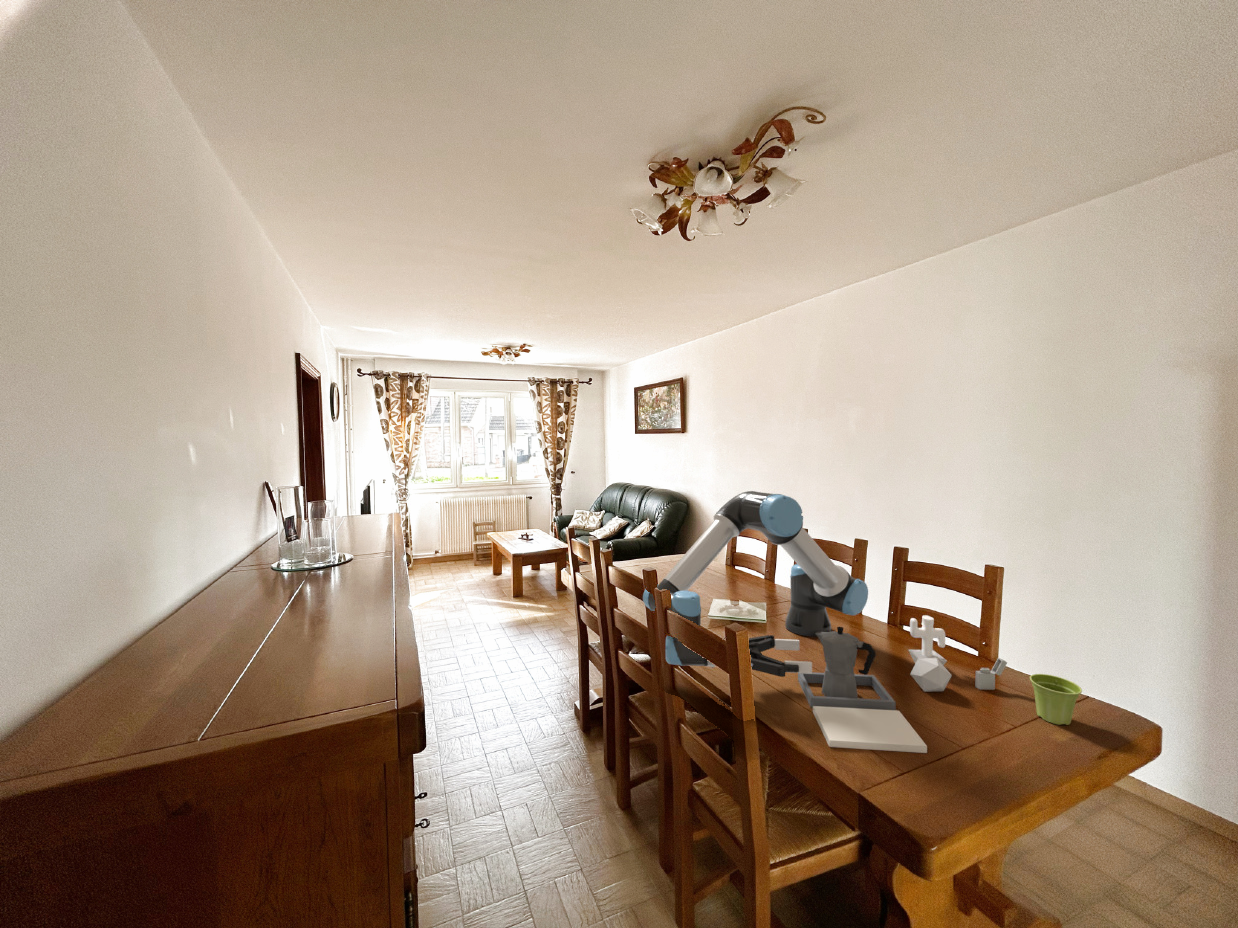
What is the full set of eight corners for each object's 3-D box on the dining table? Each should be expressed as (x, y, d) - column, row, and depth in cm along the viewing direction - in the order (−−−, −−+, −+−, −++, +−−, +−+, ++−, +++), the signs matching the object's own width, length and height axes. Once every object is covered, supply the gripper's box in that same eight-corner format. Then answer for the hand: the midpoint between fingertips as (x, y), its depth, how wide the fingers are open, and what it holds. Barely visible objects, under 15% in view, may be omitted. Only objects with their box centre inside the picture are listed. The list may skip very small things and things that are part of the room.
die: (949, 702, 128) (962, 668, 130) (918, 684, 129) (930, 650, 132) (930, 698, 136) (942, 665, 138) (900, 680, 137) (913, 648, 139)
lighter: (979, 689, 133) (979, 659, 133) (974, 686, 135) (975, 657, 134) (1006, 689, 133) (1007, 660, 132) (1002, 686, 134) (1002, 657, 134)
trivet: (812, 711, 123) (812, 705, 123) (898, 716, 121) (898, 710, 121) (829, 746, 109) (829, 740, 109) (926, 752, 107) (927, 746, 107)
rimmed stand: (797, 680, 139) (798, 671, 139) (873, 683, 137) (873, 675, 136) (810, 707, 125) (810, 697, 125) (895, 711, 123) (895, 702, 123)
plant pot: (1081, 718, 119) (1082, 682, 119) (1079, 735, 112) (1081, 697, 112) (1030, 703, 126) (1032, 669, 125) (1026, 718, 119) (1027, 683, 119)
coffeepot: (807, 691, 133) (807, 624, 132) (822, 679, 140) (823, 615, 139) (867, 713, 122) (868, 641, 121) (881, 699, 128) (882, 631, 127)
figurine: (950, 673, 142) (952, 621, 141) (916, 672, 143) (917, 621, 142) (936, 661, 149) (937, 612, 148) (904, 661, 150) (904, 612, 149)
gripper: (719, 646, 147) (794, 649, 144) (727, 688, 122) (817, 693, 119) (719, 621, 146) (794, 624, 144) (727, 658, 122) (817, 663, 119)
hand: (805, 655), depth 132 cm, fingers open, 13 cm apart
